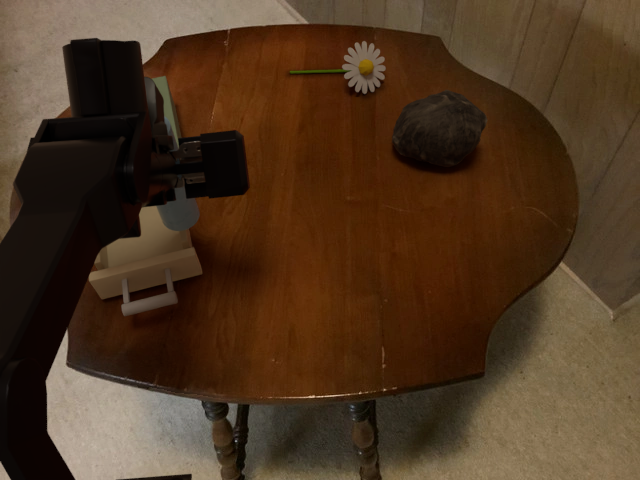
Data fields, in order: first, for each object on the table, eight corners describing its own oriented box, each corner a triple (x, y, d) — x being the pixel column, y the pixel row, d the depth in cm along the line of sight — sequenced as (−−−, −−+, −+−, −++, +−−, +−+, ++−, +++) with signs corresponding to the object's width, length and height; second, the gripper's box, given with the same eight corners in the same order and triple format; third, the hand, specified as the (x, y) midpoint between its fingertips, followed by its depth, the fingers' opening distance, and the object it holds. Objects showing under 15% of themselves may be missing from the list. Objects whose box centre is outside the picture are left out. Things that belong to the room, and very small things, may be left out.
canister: (189, 235, 69) (156, 148, 57) (155, 225, 70) (117, 138, 58) (206, 207, 71) (178, 118, 60) (173, 198, 72) (139, 109, 61)
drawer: (208, 306, 70) (201, 288, 66) (103, 334, 68) (90, 316, 65) (184, 177, 82) (177, 156, 79) (94, 198, 80) (83, 177, 77)
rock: (380, 128, 86) (396, 75, 77) (452, 120, 88) (475, 68, 80) (401, 184, 81) (421, 134, 72) (477, 174, 83) (504, 125, 75)
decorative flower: (285, 41, 88) (387, 38, 88) (289, 47, 94) (384, 44, 94) (287, 95, 90) (387, 92, 89) (290, 97, 96) (384, 95, 95)
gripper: (226, 65, 49) (243, 85, 65) (-1, 89, 49) (70, 104, 64) (243, 199, 51) (255, 188, 66) (23, 223, 51) (87, 206, 66)
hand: (167, 169), depth 66 cm, fingers closed on canister, 4 cm apart
